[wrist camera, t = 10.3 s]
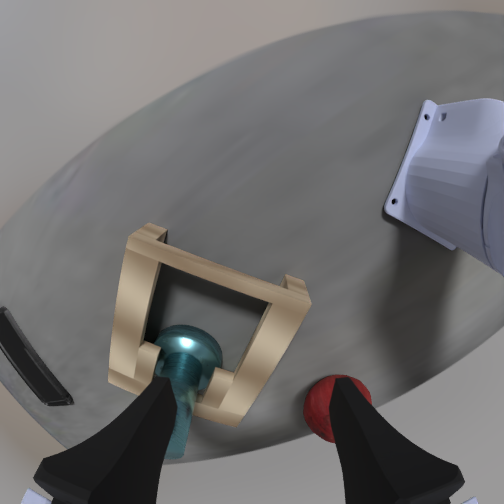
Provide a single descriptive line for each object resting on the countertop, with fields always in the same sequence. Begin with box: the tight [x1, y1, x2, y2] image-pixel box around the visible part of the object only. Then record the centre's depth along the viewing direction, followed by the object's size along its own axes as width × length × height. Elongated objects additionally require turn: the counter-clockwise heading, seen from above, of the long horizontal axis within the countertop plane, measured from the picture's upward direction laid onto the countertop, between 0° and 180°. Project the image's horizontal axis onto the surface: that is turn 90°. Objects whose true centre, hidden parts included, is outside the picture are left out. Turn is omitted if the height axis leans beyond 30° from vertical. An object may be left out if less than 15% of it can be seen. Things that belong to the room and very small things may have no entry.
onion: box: [303, 375, 372, 443], centre depth 20 cm, size 6×6×8 cm
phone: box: [0, 306, 73, 406], centre depth 26 cm, size 8×1×15 cm
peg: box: [154, 325, 222, 459], centre depth 19 cm, size 6×6×10 cm
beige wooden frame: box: [108, 223, 312, 427], centre depth 21 cm, size 14×12×4 cm
